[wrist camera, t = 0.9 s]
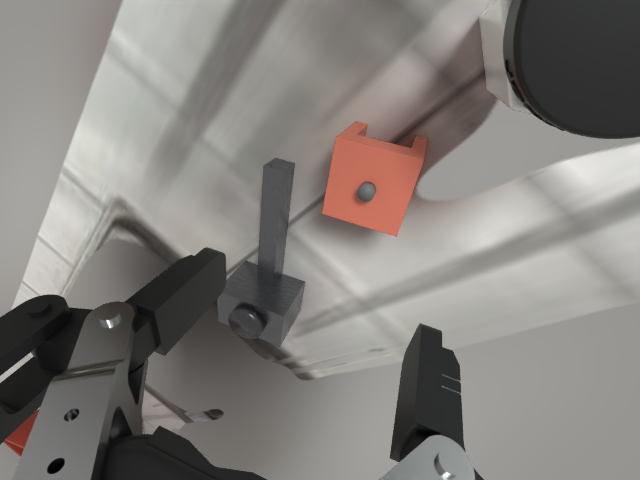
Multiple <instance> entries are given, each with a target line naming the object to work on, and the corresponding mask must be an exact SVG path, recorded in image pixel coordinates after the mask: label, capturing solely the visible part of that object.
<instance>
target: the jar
mask: <svg viewBox="0 0 640 480" xmlns="http://www.w3.org/2000/svg"><path fill="white" fill-rule="evenodd" d="M479 20H480V30H481V39H482V49H483V58H484V68H485V77H486V87H487V90H488V91H489V92H491V93H492V94H493V95H494V96H496V97H497V98H498V99H499V100H501V101H502V102H503V103H504V104H506V105H507V106H508V107H509V108H511V109H512V110H516V111H521V112H526V113H530V114H533V115H535V116H536V117H537V118H539V119H540V120H542V121H544V122H545V123H547V124H549V125H551V126H554V127H556V128H558V129H560V130H562V131H564V130H565V131H567V132H570V133H573V134H577V135H581V136H586V137H593V138H602V139H623V138H634V137H640V0H494V1H493V2H492V3H491V4H490V5H489V6H488V7H487V8H486V9H485V10H484V12H483V13H482V14H481V15H480V18H479Z"/></svg>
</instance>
